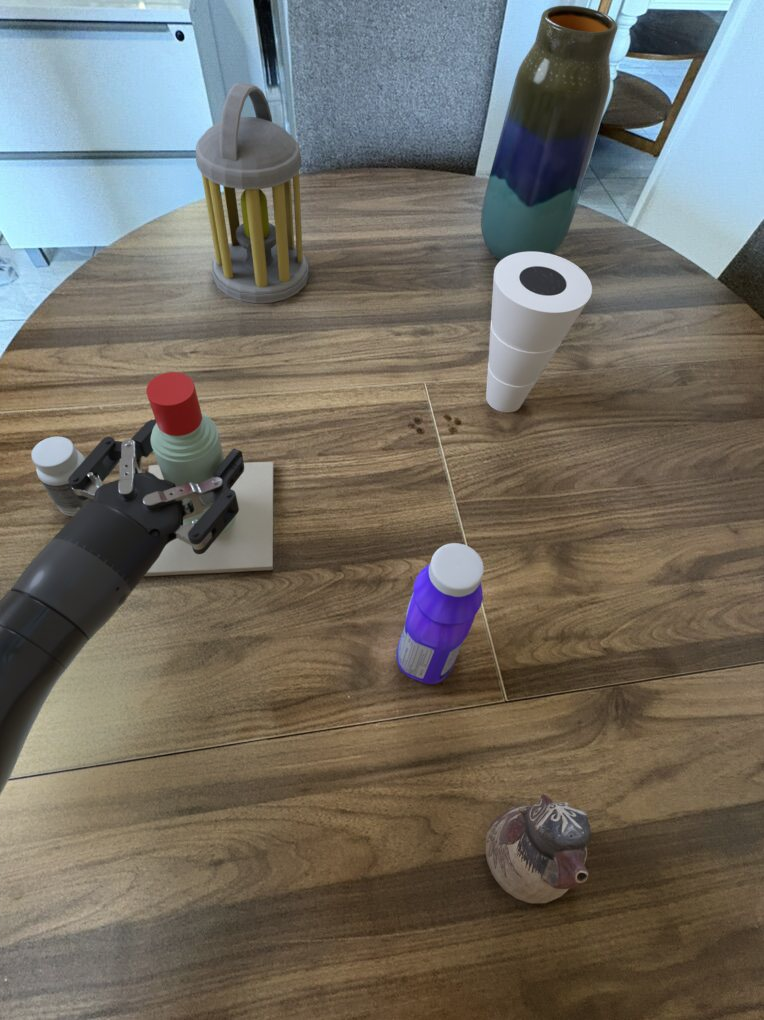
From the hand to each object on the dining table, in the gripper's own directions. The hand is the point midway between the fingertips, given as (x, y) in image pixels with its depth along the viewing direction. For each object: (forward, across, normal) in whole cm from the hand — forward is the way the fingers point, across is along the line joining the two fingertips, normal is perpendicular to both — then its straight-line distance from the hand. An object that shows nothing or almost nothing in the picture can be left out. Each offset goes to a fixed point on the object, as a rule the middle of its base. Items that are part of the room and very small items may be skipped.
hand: (201, 438), depth 59 cm
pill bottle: (-6, +14, +11) cm, 19 cm away
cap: (-2, 0, -5) cm, 5 cm away
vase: (+64, -15, +11) cm, 67 cm away
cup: (+31, -24, +11) cm, 41 cm away
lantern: (+39, +18, +11) cm, 44 cm away
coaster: (-2, 0, +11) cm, 11 cm away
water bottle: (-2, 0, +10) cm, 11 cm away
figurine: (-18, -42, +11) cm, 47 cm away
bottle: (-6, -28, +11) cm, 30 cm away
